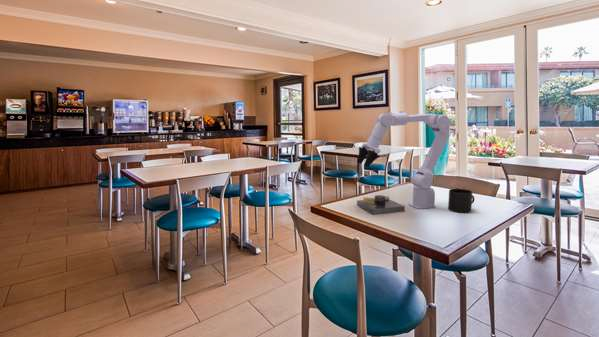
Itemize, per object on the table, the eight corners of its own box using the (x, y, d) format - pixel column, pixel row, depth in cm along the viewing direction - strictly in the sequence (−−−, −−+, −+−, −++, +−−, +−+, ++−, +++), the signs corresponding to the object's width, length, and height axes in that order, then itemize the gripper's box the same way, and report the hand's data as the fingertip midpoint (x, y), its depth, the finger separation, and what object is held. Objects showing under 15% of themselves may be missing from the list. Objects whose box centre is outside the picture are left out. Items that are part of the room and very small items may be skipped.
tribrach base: (386, 202, 161) (386, 194, 160) (404, 211, 145) (404, 202, 145) (356, 205, 156) (357, 196, 156) (372, 214, 141) (372, 205, 140)
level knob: (385, 201, 152) (385, 195, 152) (385, 204, 147) (385, 197, 147) (363, 200, 155) (363, 194, 154) (363, 203, 150) (363, 196, 150)
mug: (481, 212, 143) (482, 192, 141) (457, 213, 141) (458, 193, 139) (466, 206, 152) (467, 187, 151) (443, 208, 150) (444, 189, 148)
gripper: (362, 132, 152) (349, 158, 153) (376, 136, 138) (362, 164, 140) (373, 138, 154) (361, 163, 155) (389, 143, 141) (375, 170, 142)
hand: (362, 164), depth 148 cm, fingers open, 7 cm apart
